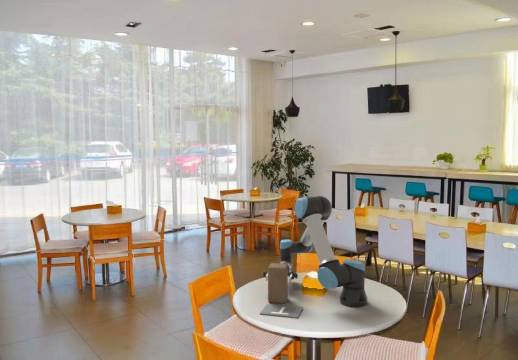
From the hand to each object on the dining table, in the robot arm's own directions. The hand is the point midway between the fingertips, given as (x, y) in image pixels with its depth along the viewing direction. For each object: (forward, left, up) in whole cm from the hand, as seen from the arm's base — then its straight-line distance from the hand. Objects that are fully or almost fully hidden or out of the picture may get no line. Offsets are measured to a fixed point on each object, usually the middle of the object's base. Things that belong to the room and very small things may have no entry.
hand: (278, 279), depth 267 cm
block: (-1, +4, -11) cm, 12 cm away
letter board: (-7, +20, -11) cm, 24 cm away
